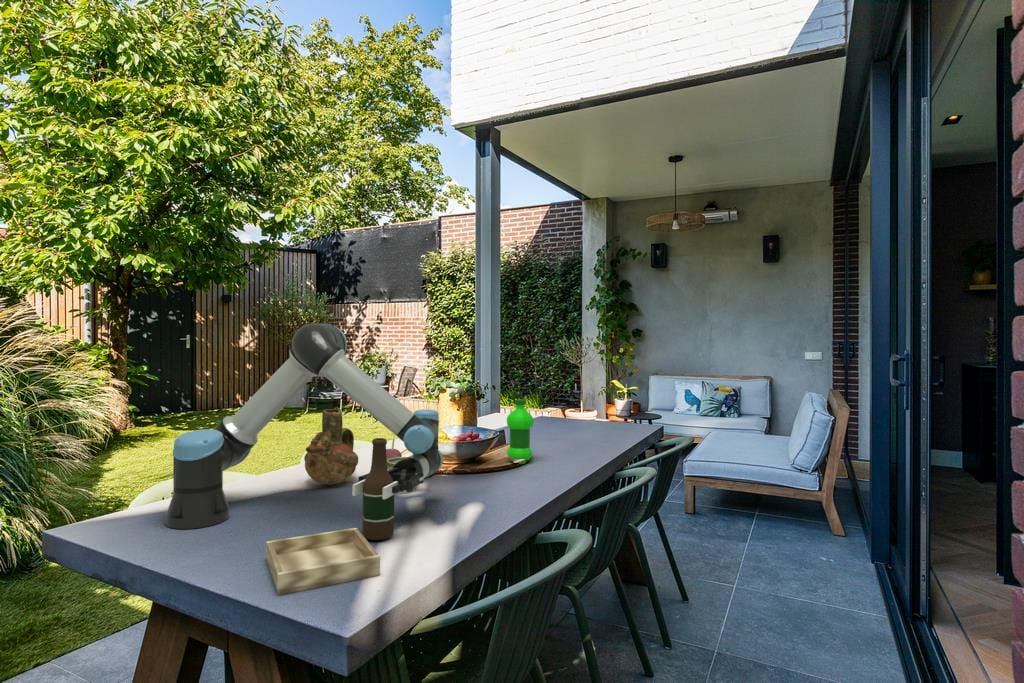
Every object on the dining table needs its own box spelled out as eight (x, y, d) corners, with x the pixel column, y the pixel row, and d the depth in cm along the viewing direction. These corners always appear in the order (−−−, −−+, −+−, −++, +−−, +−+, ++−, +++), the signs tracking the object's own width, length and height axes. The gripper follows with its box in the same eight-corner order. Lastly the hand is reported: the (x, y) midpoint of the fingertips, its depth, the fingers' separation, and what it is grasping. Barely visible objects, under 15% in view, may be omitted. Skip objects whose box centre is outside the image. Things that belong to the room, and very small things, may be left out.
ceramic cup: (381, 493, 181) (381, 462, 181) (395, 485, 191) (395, 455, 191) (419, 497, 178) (419, 465, 178) (431, 488, 188) (431, 458, 188)
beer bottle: (396, 529, 146) (397, 436, 146) (391, 540, 139) (392, 442, 138) (365, 529, 146) (367, 435, 146) (358, 540, 138) (360, 441, 138)
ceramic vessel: (284, 492, 181) (285, 414, 181) (325, 473, 206) (326, 404, 206) (335, 496, 178) (335, 416, 178) (370, 476, 203) (370, 405, 203)
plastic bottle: (537, 463, 226) (538, 400, 226) (515, 466, 220) (515, 402, 220) (523, 458, 235) (524, 398, 234) (501, 461, 229) (502, 399, 229)
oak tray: (278, 595, 111) (278, 574, 111) (266, 559, 128) (266, 541, 128) (379, 575, 120) (380, 556, 120) (356, 544, 138) (356, 527, 138)
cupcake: (406, 467, 218) (406, 435, 218) (390, 471, 211) (390, 438, 211) (389, 464, 222) (390, 433, 222) (373, 468, 215) (373, 436, 215)
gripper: (444, 487, 157) (406, 511, 135) (377, 480, 162) (331, 503, 140) (444, 460, 157) (407, 480, 135) (378, 454, 162) (331, 472, 140)
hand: (368, 492), depth 138 cm, fingers closed on beer bottle, 7 cm apart
